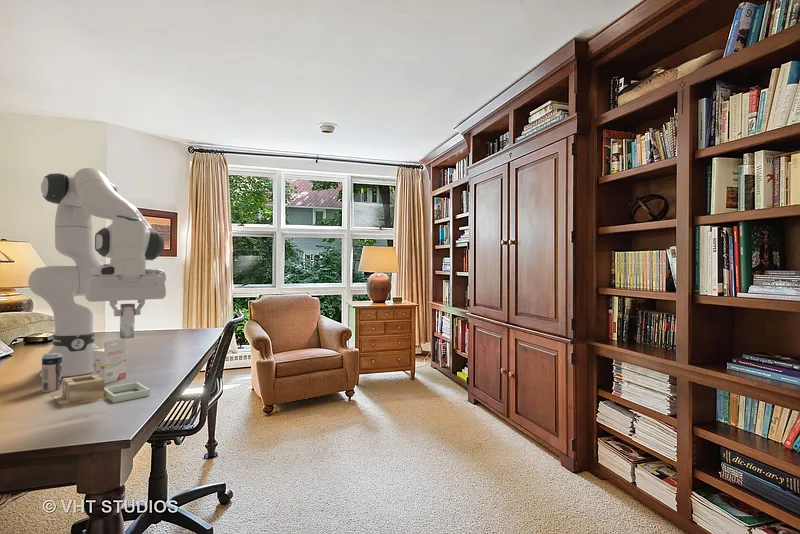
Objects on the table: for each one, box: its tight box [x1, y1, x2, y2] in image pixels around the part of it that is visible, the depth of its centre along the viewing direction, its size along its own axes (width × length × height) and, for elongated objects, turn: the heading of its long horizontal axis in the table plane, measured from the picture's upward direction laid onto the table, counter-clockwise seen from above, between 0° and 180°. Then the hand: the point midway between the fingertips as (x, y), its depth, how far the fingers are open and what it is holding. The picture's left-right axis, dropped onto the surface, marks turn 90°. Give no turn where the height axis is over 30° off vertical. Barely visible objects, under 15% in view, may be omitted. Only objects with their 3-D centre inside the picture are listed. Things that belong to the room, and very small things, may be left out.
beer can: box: [41, 353, 63, 393], centre depth 128 cm, size 5×5×12 cm
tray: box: [104, 381, 151, 403], centre depth 124 cm, size 11×9×3 cm
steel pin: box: [119, 303, 136, 340], centre depth 124 cm, size 4×4×10 cm
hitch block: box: [51, 373, 109, 409], centre depth 122 cm, size 16×12×6 cm
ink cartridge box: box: [92, 338, 127, 385], centre depth 139 cm, size 9×5×15 cm, turn 168°
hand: (127, 315), depth 124 cm, fingers closed on steel pin, 4 cm apart
